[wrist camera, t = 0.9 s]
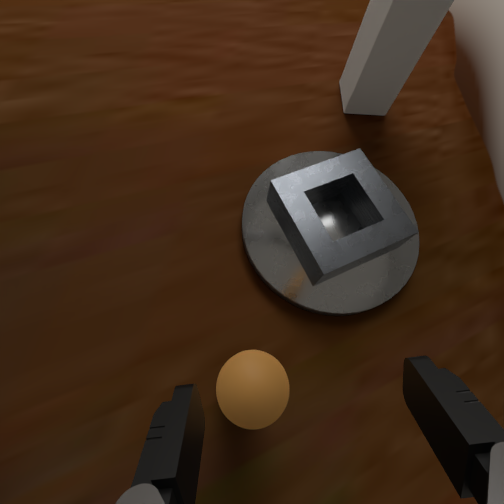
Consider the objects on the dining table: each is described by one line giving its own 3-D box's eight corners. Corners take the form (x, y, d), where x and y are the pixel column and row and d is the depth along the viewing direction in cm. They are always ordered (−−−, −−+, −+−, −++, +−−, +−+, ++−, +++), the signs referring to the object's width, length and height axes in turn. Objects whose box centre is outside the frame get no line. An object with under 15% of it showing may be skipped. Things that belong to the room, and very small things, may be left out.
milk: (338, 82, 47) (424, -150, 27) (379, 85, 47) (494, -142, 27) (343, 114, 44) (441, -114, 24) (386, 117, 45) (517, -106, 25)
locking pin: (213, 375, 31) (204, 368, 18) (251, 356, 32) (269, 338, 19) (230, 417, 29) (234, 444, 17) (269, 397, 30) (302, 407, 17)
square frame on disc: (214, 189, 38) (212, 160, 33) (354, 140, 43) (371, 107, 38) (292, 348, 32) (304, 341, 27) (446, 271, 37) (482, 253, 32)
